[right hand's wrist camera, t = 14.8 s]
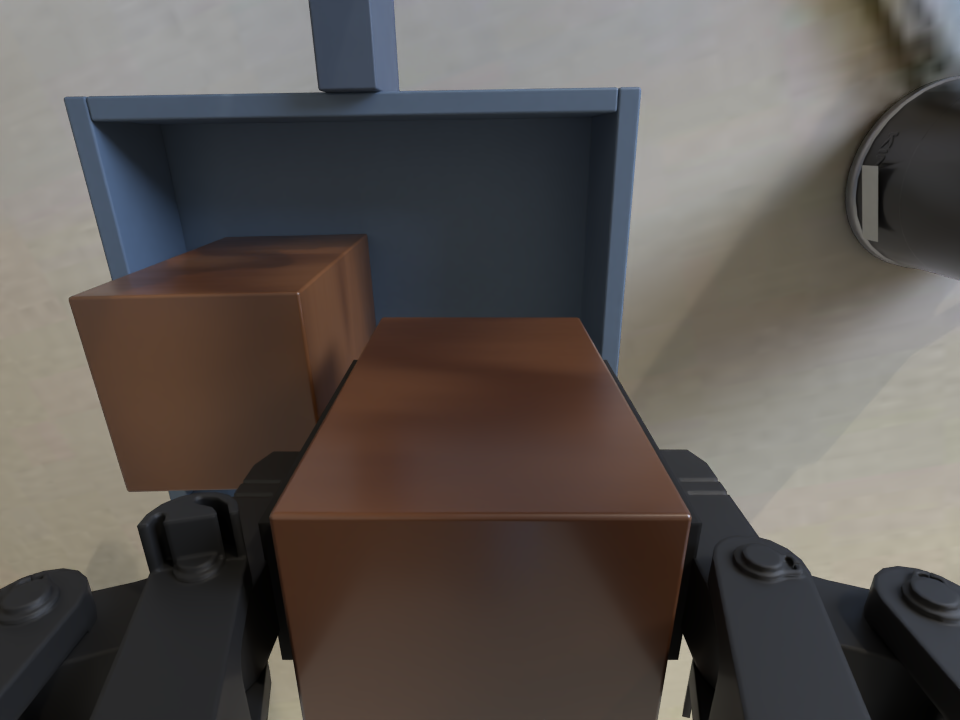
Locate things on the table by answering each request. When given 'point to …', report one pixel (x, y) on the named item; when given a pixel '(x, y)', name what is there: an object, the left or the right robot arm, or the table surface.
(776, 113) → the table surface
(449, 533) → the walnut block
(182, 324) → the walnut block
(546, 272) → the tray
